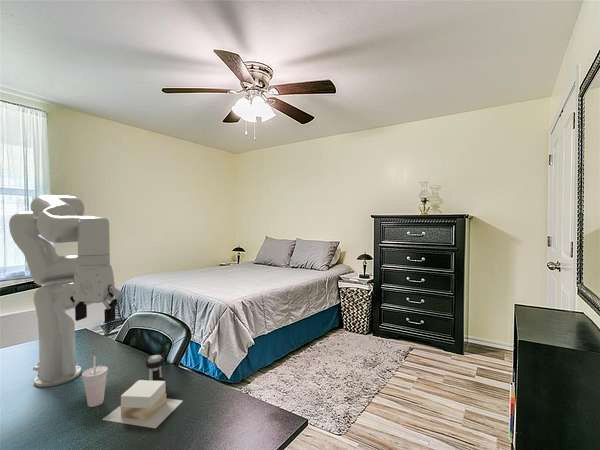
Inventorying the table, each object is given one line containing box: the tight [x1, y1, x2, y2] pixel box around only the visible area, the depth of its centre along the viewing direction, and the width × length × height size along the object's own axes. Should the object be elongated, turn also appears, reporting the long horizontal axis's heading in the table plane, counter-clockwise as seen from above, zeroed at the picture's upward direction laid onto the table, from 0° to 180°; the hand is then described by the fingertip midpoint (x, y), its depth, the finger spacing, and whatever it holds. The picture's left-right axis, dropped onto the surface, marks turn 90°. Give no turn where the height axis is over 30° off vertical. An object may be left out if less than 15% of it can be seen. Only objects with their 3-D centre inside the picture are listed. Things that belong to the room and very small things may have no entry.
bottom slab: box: [121, 391, 167, 421], centre depth 86 cm, size 8×8×3 cm
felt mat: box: [101, 397, 183, 429], centre depth 86 cm, size 16×12×1 cm
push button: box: [144, 354, 166, 382], centre depth 97 cm, size 7×5×10 cm
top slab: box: [120, 379, 167, 408], centre depth 86 cm, size 8×8×3 cm
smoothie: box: [81, 355, 109, 408], centre depth 90 cm, size 6×6×14 cm
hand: (95, 320), depth 89 cm, fingers open, 9 cm apart
